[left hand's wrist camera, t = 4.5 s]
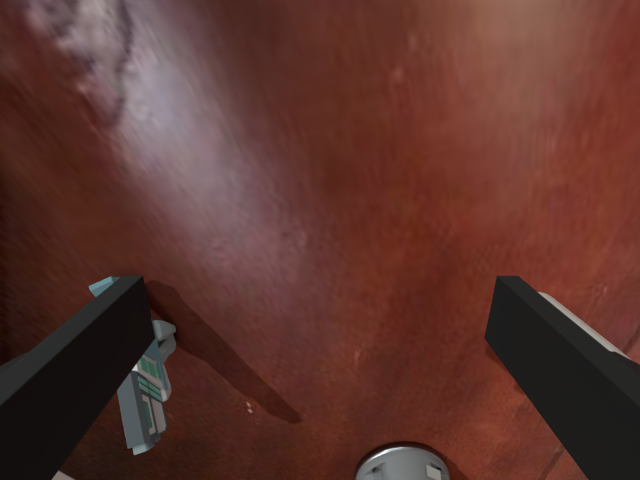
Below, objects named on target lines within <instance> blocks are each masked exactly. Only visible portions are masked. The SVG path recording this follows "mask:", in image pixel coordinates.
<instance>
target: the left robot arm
mask: <svg viewBox="0 0 640 480" xmlns="http://www.w3.org/2000/svg"><path fill="white" fill-rule="evenodd" d="M154 339H155V333H154V328H153V323H152V319H151V314H150V309H149V304H148V299H147V294H146V289H145V284H144V279H143V276H121V277H120V278H119V279H118V280H117V281H115V282H114V283H113V284H112V285H110V286H109V287H108V288H107V289H106V290H104V291H103V292H102V293H101V294H99V295H98V296H97V297H96V298H95V299H93V300H92V301H91V302H90V303H88V304H87V305H86V306H85V307H83V308H82V309H81V310H80V311H79V312H77V313H76V314H75V315H74V316H72V317H71V318H70V319H69V320H68V321H66V322H65V323H64V324H63V325H61V326H60V327H59V328H58V329H57V330H55V331H54V332H53V333H52V334H50V335H49V336H48V337H47V338H46V339H44V340H43V341H42V342H41V343H39V344H38V345H37V346H36V347H35V348H33V349H32V350H31V351H30V352H28V353H24V354H22V355H20V356H18V357H16V358H14V359H13V360H11V361H9V362H7V363H5V364H3V365H2V366H1V367H0V480H52V478H53V477H54V476H55V474H56V473H57V471H58V470H59V469H60V467H61V466H62V465H63V463H64V462H65V461H66V459H67V458H68V457H69V455H70V454H71V452H72V451H73V450H74V448H75V447H76V446H77V444H78V443H79V442H80V440H81V439H82V437H83V436H84V435H85V433H86V432H87V431H88V429H89V428H90V427H91V425H92V424H93V422H94V421H95V420H96V418H97V417H98V416H99V414H100V413H101V412H102V410H103V409H104V408H105V406H106V405H107V403H108V402H109V401H110V399H111V398H112V397H113V395H114V394H115V393H116V391H117V390H118V388H119V387H120V386H121V384H122V383H123V382H124V380H125V379H126V378H127V376H128V375H129V373H130V372H131V371H132V369H133V368H134V367H135V365H136V364H137V363H138V361H139V360H140V358H141V357H142V356H143V354H144V353H145V352H146V350H147V349H148V348H149V346H150V345H151V344H152V342H153V341H154ZM485 339H486V341H487V342H488V344H489V345H490V346H491V348H492V349H493V350H494V352H495V353H496V354H497V356H498V357H499V358H500V360H501V361H502V363H503V364H504V365H505V367H506V368H507V369H508V371H509V372H510V373H511V375H512V376H513V378H514V379H515V380H516V382H517V383H518V384H519V386H520V387H521V388H522V390H523V391H524V393H525V394H526V395H527V397H528V398H529V399H530V401H531V402H532V403H533V405H534V406H535V408H536V409H537V410H538V412H539V413H540V414H541V416H542V417H543V418H544V420H545V421H546V422H547V424H548V425H549V427H550V428H551V429H552V431H553V432H554V433H555V435H556V436H557V437H558V439H559V440H560V442H561V443H562V444H563V446H564V447H565V448H566V450H567V451H568V452H569V454H570V455H571V457H572V458H573V459H574V461H575V462H576V463H577V465H578V466H579V467H580V469H581V470H582V471H583V473H584V474H585V476H586V477H587V478H588V480H640V365H639V364H638V363H636V362H634V361H632V360H630V359H628V358H626V357H625V356H623V355H621V354H619V353H617V352H615V351H609V350H608V349H607V348H605V347H604V346H603V345H602V344H601V343H599V342H598V341H597V340H596V339H594V338H593V337H592V336H591V335H590V334H588V333H587V332H586V331H585V330H583V329H582V328H581V327H580V326H579V325H577V324H576V323H575V322H574V321H572V320H571V319H570V318H569V317H568V316H566V315H565V314H564V313H563V312H561V311H560V310H559V309H558V308H557V307H555V306H554V305H553V304H552V303H550V302H549V301H548V300H547V299H545V298H544V297H543V296H542V295H541V294H539V293H538V292H537V291H536V290H534V289H533V288H532V287H531V286H530V285H528V284H527V283H526V282H525V281H523V280H522V279H521V278H520V277H519V276H497V279H496V284H495V289H494V294H493V299H492V304H491V309H490V314H489V319H488V323H487V328H486V333H485ZM354 476H355V480H450V475H449V472H448V469H447V466H446V463H445V461H444V459H443V458H442V457H441V455H440V454H439V453H438V452H436V451H435V450H434V449H432V448H430V447H428V446H425V445H423V444H419V443H414V442H395V443H390V444H386V445H383V446H380V447H378V448H376V449H374V450H372V451H370V452H369V453H368V454H366V455H365V456H364V457H363V458H362V459H361V460H360V462H359V463H358V465H357V467H356V470H355V475H354Z"/></svg>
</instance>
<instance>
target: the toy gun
mask: <svg viewBox="0 0 640 480" xmlns="http://www.w3.org/2000/svg"><path fill="white" fill-rule="evenodd" d="M119 278H120V277H109V278H106V279H104V280H102V281H100V282H98V283H95V284H93V285H91V286H89V288H90V291H91V292H92V293H93V294H94V295H95V296H96V297H97V296H98V295H99V294H101V293H102V292H103V291H104V290H106V289H107V288H108V287H109V286H110V285H112V284H113V283H114V282H115V281H117V280H118V279H119ZM151 319H152V317H151ZM152 323H153V328H154V333H155V339H154V341H153V342H152V344H151V345H150V346H149V348H148V349H147V350H146V352H145V353H144V354H143V356H142V357H141V358H140V360H139V361H138V363H137V364H136V365H135V367H134V368H133V369H132V371H131V372H130V373H129V375H128V376H127V378H126V379H125V380H124V382H123V383H122V384H121V386H120V387H119V388H118V390H117V393H118V398H119V404H120V409H121V414H122V420H123V425H124V431H125V436H126V441H127V447H128V448H131V447H133V452H134V455H136V454H139V453H142V452H145V451H147V450H149V449H151V448H152V447H154V446H155V445H154V443H156V442H158V441H159V440H161V438H160V434H161V433H163V432H165V431H166V430H167V425H168V424H167V420H166V415H165V410H164V406H163V402H164V401H166V400H168V398H169V396H170V393H171V385H170V382H169V380H168V376H167V373H166V370H165V366H164V362H165V361H166V360H167V357H168V356H169V355H170V354H171V353H173V352H174V350H175V349H176V341H175V338H174V335H173V333H175V332H176V328H175V325H172V324H170V323H167V322H165V321H160V320H155V321H153V320H152Z"/></svg>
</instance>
